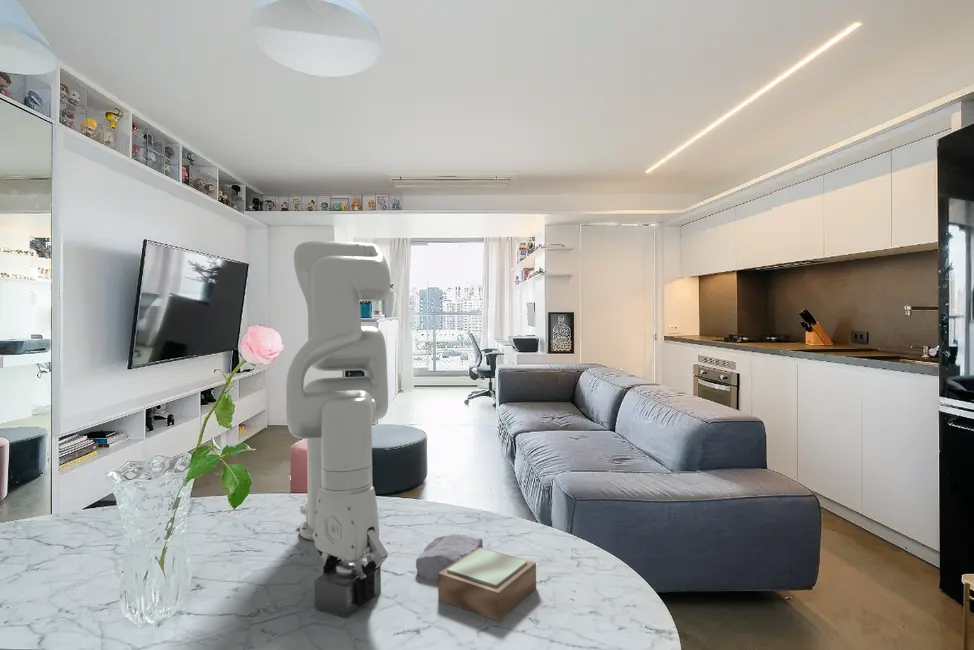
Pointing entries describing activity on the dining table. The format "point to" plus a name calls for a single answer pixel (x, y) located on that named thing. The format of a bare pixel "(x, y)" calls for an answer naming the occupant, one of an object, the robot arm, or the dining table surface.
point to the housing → (341, 589)
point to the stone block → (445, 553)
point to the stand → (487, 582)
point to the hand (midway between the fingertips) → (348, 593)
